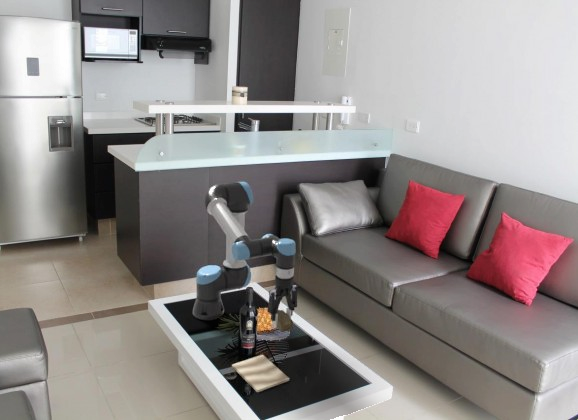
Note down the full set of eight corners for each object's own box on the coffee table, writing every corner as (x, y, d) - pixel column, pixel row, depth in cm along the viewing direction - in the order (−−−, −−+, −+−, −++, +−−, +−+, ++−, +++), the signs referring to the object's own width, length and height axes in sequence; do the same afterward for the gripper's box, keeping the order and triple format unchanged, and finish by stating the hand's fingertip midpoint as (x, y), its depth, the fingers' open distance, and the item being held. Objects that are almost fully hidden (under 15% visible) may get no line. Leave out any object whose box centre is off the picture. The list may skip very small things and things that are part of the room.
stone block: (281, 333, 229) (281, 323, 227) (269, 320, 238) (270, 310, 237) (293, 331, 231) (294, 320, 230) (281, 318, 241) (282, 308, 239)
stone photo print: (231, 366, 226) (231, 364, 226) (262, 356, 234) (262, 354, 234) (257, 392, 210) (257, 390, 210) (289, 380, 219) (289, 378, 218)
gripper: (270, 283, 219) (267, 334, 226) (308, 274, 230) (304, 323, 237) (260, 276, 225) (257, 326, 232) (298, 267, 236) (294, 315, 243)
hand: (281, 324), depth 234 cm, fingers closed on stone block, 6 cm apart
